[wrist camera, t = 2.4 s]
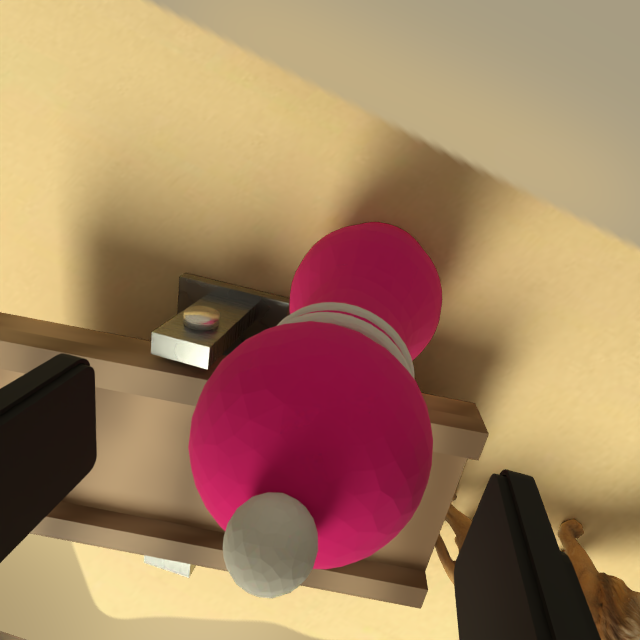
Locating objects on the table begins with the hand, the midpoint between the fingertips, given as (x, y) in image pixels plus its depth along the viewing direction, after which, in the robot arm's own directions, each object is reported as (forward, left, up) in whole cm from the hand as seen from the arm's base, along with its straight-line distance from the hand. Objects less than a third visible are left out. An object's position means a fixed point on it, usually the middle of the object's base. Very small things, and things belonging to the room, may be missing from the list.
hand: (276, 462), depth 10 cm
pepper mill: (-1, 0, -17) cm, 17 cm away
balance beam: (+6, +11, -12) cm, 18 cm away
